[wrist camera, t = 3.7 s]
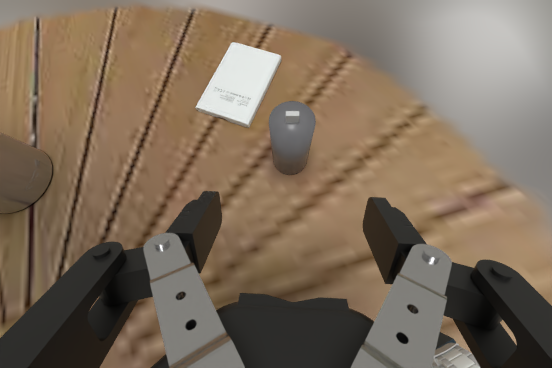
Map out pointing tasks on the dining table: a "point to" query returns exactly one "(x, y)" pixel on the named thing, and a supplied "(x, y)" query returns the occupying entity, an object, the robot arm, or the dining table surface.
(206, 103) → the external hard drive
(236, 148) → the dining table surface
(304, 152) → the grey upright cylinder
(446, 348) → the watch
